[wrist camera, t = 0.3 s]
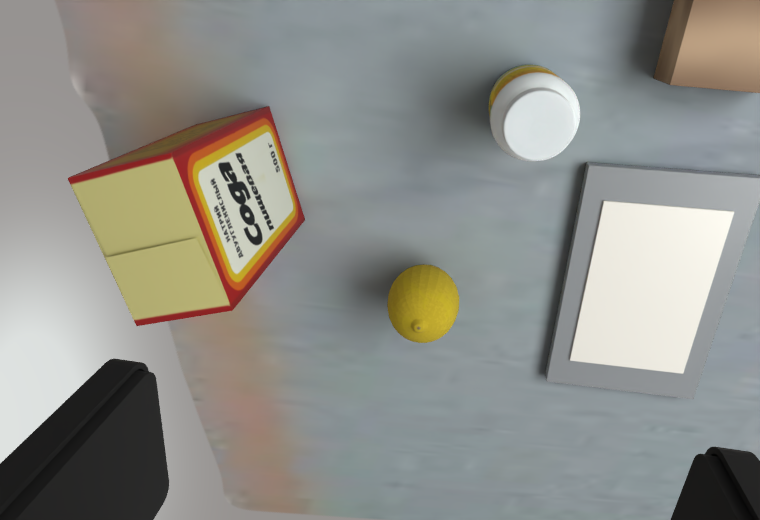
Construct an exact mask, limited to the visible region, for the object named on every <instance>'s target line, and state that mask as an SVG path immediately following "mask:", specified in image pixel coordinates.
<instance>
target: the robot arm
mask: <svg viewBox="0 0 760 520" xmlns="http://www.w3.org/2000/svg"><path fill="white" fill-rule="evenodd" d="M168 488H169V478H168V470H167V462H166V454H165V446H164V438H163V430H162V422H161V414H160V406H159V399H158V391H157V383H156V377H155V375H154V373H151V372H149V371H148V368H147V366H146V365H145V364H144V363H140V362H134V361H127V360H120V359H111V360H109V361H108V362H106V363H105V364H104V365H103V366H102V367H101V368H100V369H99V370H98V371H97V372H96V373H95V374H94V375H93V376H91V377H90V378H89V379H88V380H87V381H86V382H85V383H84V384H83V385H82V386H81V387H80V388H79V389H78V390H77V391H76V392H75V393H74V394H73V395H72V396H71V397H70V398H68V399H67V400H66V401H65V402H64V403H63V404H62V405H61V406H60V407H59V408H58V409H57V410H56V411H55V412H54V413H53V414H52V415H51V416H50V417H49V418H48V419H47V420H46V421H44V422H43V423H42V424H41V425H40V426H39V427H38V428H37V429H36V430H35V431H34V432H33V433H32V434H31V435H30V436H29V437H28V438H27V439H26V440H25V441H24V442H23V443H22V444H20V445H19V446H18V447H17V448H16V449H15V450H14V451H13V452H12V453H11V454H10V455H9V456H8V457H7V458H6V459H5V460H4V461H3V462H2V463H1V464H0V520H153V519H154V518H155V516H156V514H157V513H158V511H159V510H160V508H161V506H162V505H163V503H164V501H165V498H166V496H167V493H168ZM671 520H760V461H759V459H758V458H757V457H756V456H755V455H754V454H753V453H751V452H747V451H741V450H734V449H727V448H720V447H710V448H709V449H708V450H707V451H706V453H705V454H698V455H696V456H695V458H694V460H693V463H692V465H691V468H690V471H689V473H688V476H687V478H686V481H685V484H684V486H683V489H682V491H681V494H680V497H679V499H678V502H677V505H676V507H675V510H674V512H673V515H672V518H671Z"/></svg>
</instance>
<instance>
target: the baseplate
mask: <svg viewBox="0 0 760 520" xmlns="http://www.w3.org/2000/svg"><path fill="white" fill-rule="evenodd" d="M759 202H760V175H751V174H738V173H725V172H711V171H698V170H685V169H671V168H658V167H645V166H632V165H618V164H605V163H592V162H587V163H586V168H585V173H584V178H583V184H582V189H581V194H580V199H579V204H578V209H577V214H576V219H575V225H574V230H573V235H572V240H571V245H570V250H569V255H568V260H567V265H566V271H565V276H564V281H563V286H562V291H561V296H560V301H559V306H558V312H557V317H556V322H555V327H554V332H553V337H552V342H551V347H550V352H549V358H548V363H547V368H546V373H545V376H546V381H547V382H555V383H563V384H572V385H580V386H588V387H596V388H605V389H613V390H621V391H629V392H638V393H646V394H654V395H662V396H670V397H679V398H687V399H694V396H695V393H696V390H697V387H698V384H699V381H700V378H701V375H702V372H703V369H704V366H705V363H706V360H707V357H708V354H709V351H710V348H711V345H712V342H713V339H714V336H715V333H716V330H717V327H718V324H719V321H720V318H721V315H722V312H723V309H724V306H725V303H726V300H727V297H728V294H729V291H730V288H731V285H732V282H733V279H734V276H735V273H736V270H737V267H738V264H739V261H740V258H741V255H742V252H743V249H744V246H745V243H746V240H747V237H748V234H749V231H750V228H751V225H752V222H753V219H754V216H755V213H756V210H757V207H758V205H759Z"/></svg>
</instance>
